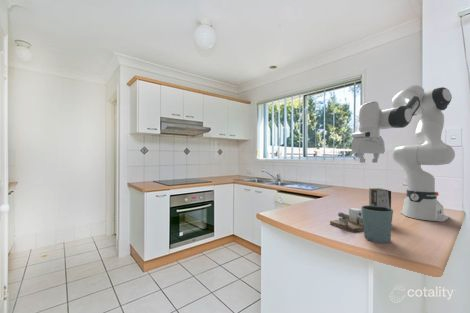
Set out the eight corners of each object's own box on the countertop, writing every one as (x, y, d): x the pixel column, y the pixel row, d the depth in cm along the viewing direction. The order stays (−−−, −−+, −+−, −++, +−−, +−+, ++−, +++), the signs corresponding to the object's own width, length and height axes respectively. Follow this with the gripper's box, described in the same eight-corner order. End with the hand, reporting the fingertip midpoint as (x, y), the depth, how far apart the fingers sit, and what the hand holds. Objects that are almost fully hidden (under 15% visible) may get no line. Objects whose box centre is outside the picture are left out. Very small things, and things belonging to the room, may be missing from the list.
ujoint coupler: (354, 220, 103) (354, 207, 103) (363, 223, 99) (363, 210, 99) (348, 221, 101) (348, 208, 101) (357, 224, 97) (357, 210, 97)
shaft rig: (358, 219, 110) (358, 205, 110) (382, 226, 99) (382, 211, 99) (328, 224, 101) (328, 209, 101) (351, 232, 90) (351, 215, 90)
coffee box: (391, 225, 101) (391, 190, 101) (376, 224, 102) (376, 190, 102) (382, 219, 110) (382, 188, 110) (368, 219, 111) (368, 187, 111)
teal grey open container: (399, 242, 80) (399, 210, 80) (378, 245, 77) (378, 212, 77) (374, 233, 90) (374, 204, 90) (355, 235, 87) (355, 205, 87)
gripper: (375, 136, 114) (375, 162, 114) (349, 134, 106) (349, 162, 106) (388, 135, 109) (388, 162, 108) (361, 133, 100) (361, 162, 100)
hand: (368, 162), depth 107 cm, fingers open, 8 cm apart
